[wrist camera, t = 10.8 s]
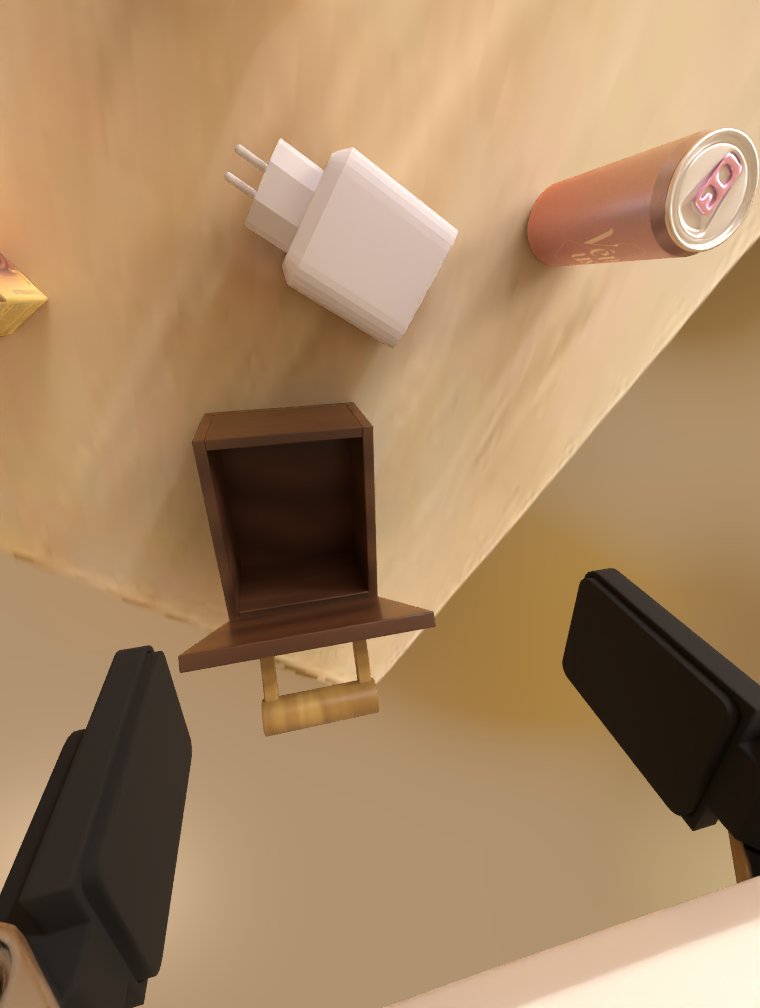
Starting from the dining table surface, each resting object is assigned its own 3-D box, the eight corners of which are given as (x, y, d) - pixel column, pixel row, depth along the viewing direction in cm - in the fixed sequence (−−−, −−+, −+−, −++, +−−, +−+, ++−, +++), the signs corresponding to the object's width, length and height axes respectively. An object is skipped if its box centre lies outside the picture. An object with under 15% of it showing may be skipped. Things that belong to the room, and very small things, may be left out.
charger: (260, 98, 30) (438, 236, 36) (206, 236, 32) (381, 343, 38) (260, 67, 26) (462, 229, 32) (198, 228, 28) (396, 349, 34)
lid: (177, 655, 21) (187, 771, 20) (433, 611, 24) (449, 712, 23) (228, 620, 37) (235, 684, 36) (378, 596, 39) (386, 655, 39)
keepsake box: (204, 413, 37) (191, 441, 30) (353, 402, 40) (373, 425, 33) (234, 570, 44) (229, 622, 37) (360, 552, 47) (377, 597, 40)
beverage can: (601, 216, 38) (780, 177, 25) (556, 281, 39) (703, 278, 26) (555, 165, 36) (727, 92, 22) (509, 236, 37) (645, 208, 24)
